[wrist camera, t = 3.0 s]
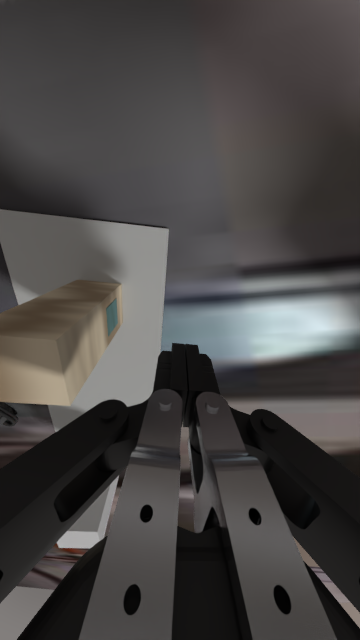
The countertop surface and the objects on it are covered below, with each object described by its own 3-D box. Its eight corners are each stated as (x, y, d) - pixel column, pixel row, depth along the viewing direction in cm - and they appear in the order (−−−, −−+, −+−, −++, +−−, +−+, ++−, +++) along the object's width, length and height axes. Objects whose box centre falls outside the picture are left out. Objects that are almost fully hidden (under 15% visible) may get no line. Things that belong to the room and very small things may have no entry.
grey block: (126, 425, 25) (98, 531, 16) (127, 442, 27) (101, 548, 18) (97, 423, 25) (51, 530, 16) (99, 441, 27) (59, 547, 18)
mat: (168, 229, 15) (168, 228, 15) (152, 461, 29) (152, 463, 29) (-7, 208, 14) (-10, 208, 14) (64, 457, 29) (63, 459, 28)
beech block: (122, 283, 17) (57, 340, 8) (123, 322, 18) (71, 406, 9) (77, 279, 17) (-44, 332, 8) (82, 318, 18) (-11, 401, 9)
